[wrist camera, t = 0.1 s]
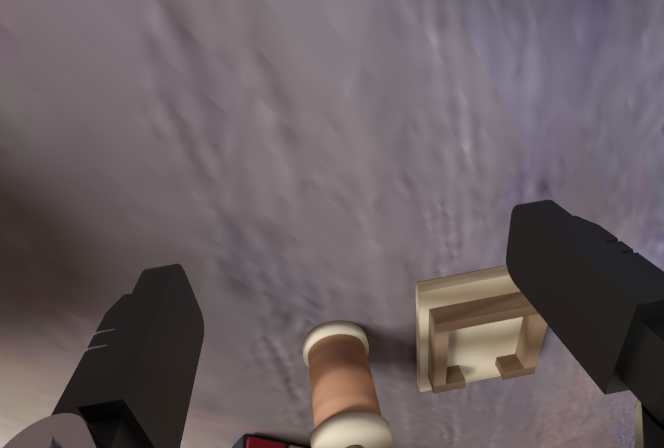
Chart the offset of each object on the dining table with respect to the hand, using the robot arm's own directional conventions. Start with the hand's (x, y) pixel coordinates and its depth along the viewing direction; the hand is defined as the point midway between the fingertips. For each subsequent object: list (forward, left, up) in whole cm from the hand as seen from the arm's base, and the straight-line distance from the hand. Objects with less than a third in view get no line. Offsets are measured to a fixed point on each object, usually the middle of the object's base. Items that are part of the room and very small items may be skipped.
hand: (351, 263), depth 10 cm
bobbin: (+25, -1, -17) cm, 30 cm away
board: (+26, +13, -17) cm, 34 cm away
